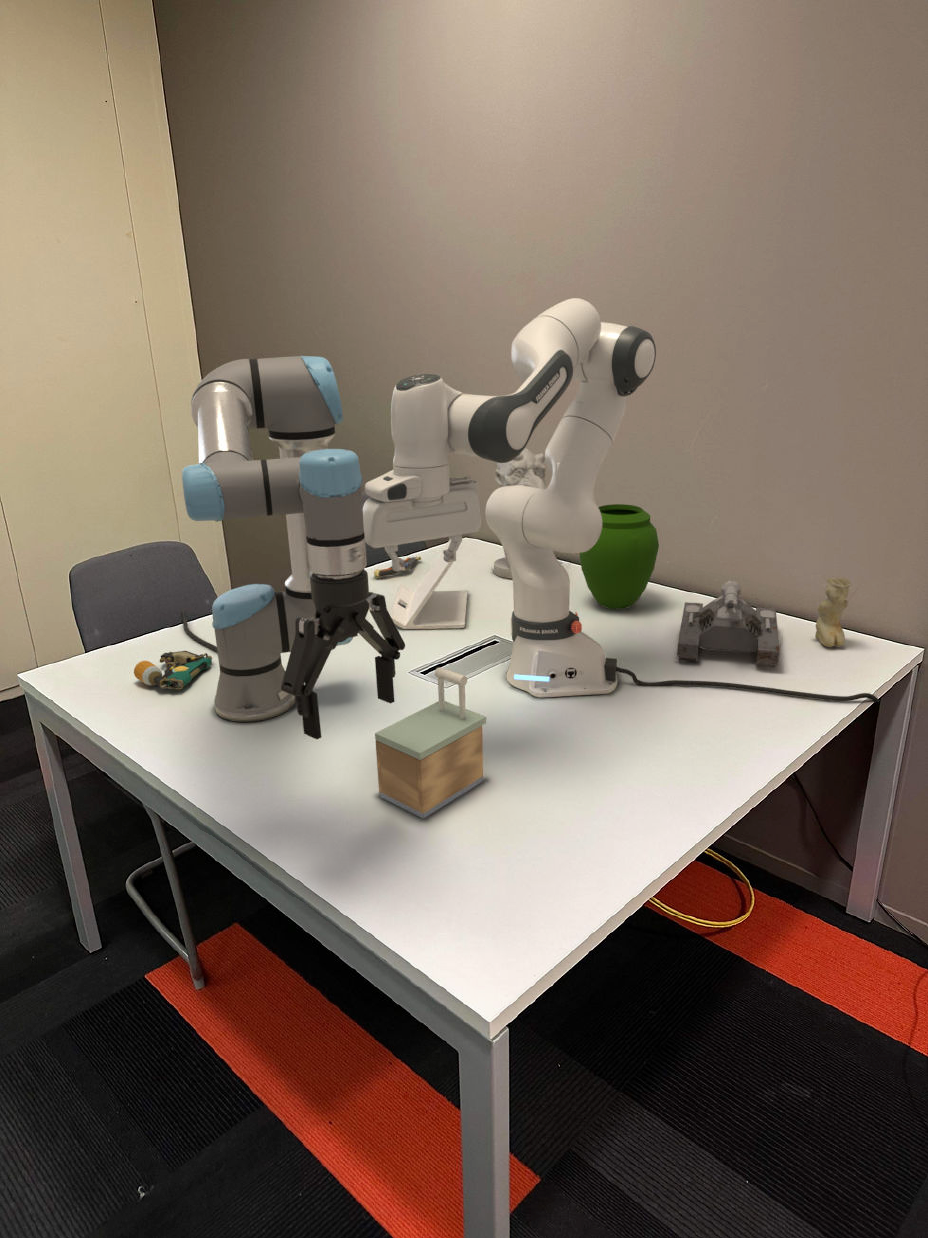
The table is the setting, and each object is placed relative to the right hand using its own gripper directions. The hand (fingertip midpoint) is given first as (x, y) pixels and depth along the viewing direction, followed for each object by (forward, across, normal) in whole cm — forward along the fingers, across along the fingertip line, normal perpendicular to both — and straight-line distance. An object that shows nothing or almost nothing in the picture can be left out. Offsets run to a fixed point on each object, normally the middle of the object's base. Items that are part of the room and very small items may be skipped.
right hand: (424, 565), depth 140 cm
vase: (+31, -72, -37) cm, 87 cm away
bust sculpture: (+31, -67, -71) cm, 102 cm away
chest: (+33, +7, +14) cm, 36 cm away
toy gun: (+32, -39, -96) cm, 108 cm away
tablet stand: (+32, -31, -60) cm, 75 cm away
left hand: (+14, +22, +19) cm, 32 cm away
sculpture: (+31, -94, +8) cm, 100 cm away
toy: (+32, -75, -3) cm, 81 cm away
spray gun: (+33, +32, -54) cm, 71 cm away
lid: (+23, +7, +14) cm, 27 cm away
